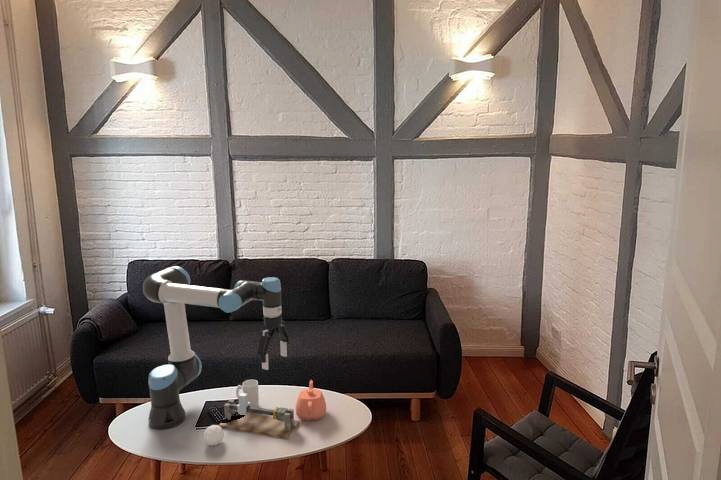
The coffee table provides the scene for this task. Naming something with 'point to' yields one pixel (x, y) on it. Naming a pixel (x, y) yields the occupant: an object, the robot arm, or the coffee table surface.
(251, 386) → the mug
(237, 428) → the din rail terminal board
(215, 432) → the geometric ball
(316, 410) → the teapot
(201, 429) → the coffee table surface
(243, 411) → the white stepped block
